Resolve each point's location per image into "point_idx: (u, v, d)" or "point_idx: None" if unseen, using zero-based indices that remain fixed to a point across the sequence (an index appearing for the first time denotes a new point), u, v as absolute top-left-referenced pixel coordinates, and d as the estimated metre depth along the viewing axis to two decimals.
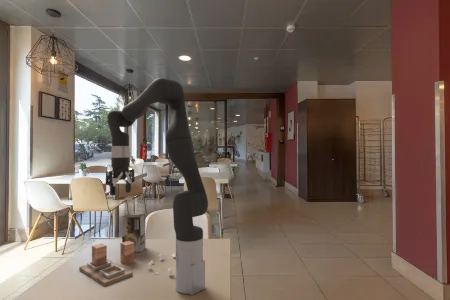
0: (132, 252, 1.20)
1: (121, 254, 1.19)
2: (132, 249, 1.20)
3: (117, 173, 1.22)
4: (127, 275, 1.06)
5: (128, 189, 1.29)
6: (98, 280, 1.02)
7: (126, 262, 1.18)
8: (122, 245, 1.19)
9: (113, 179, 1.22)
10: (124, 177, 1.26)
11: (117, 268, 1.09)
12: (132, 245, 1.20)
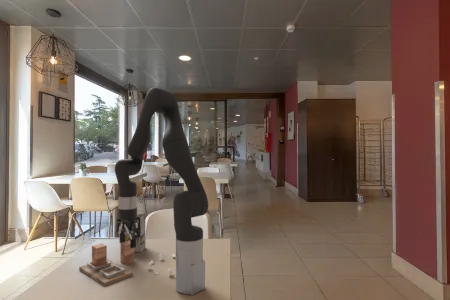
0: (132, 252, 1.20)
1: (121, 254, 1.19)
2: (132, 249, 1.20)
3: None
4: (127, 275, 1.06)
5: (123, 239, 1.23)
6: (98, 280, 1.02)
7: (126, 262, 1.18)
8: (122, 245, 1.19)
9: (132, 231, 1.18)
10: None
11: (117, 268, 1.09)
12: None
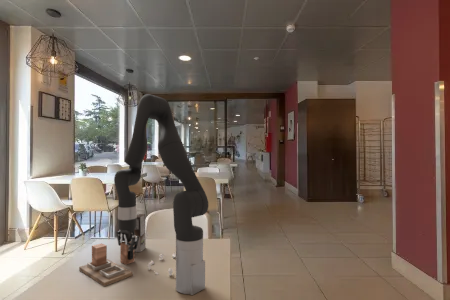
0: None
1: (121, 254, 1.19)
2: None
3: None
4: (127, 275, 1.06)
5: None
6: (98, 280, 1.02)
7: (126, 262, 1.18)
8: (122, 245, 1.19)
9: (130, 243, 1.18)
10: None
11: (117, 268, 1.09)
12: None
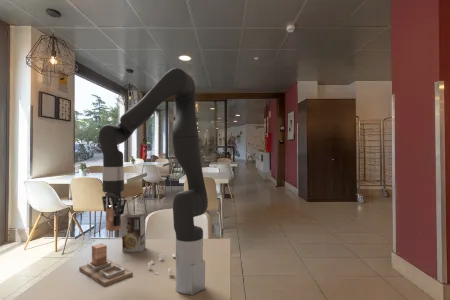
0: None
1: (106, 220, 1.07)
2: None
3: None
4: (127, 275, 1.06)
5: None
6: (98, 280, 1.02)
7: (112, 229, 1.05)
8: (107, 210, 1.06)
9: (116, 207, 1.05)
10: None
11: (117, 268, 1.09)
12: None
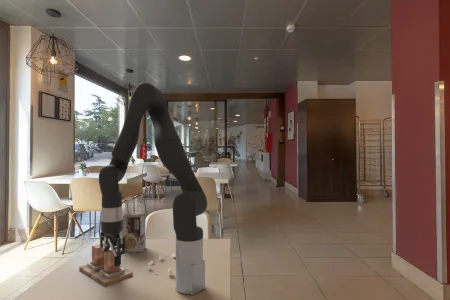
0: None
1: (105, 264, 1.06)
2: None
3: None
4: (127, 275, 1.06)
5: None
6: (98, 280, 1.02)
7: None
8: (106, 254, 1.05)
9: (116, 247, 1.04)
10: None
11: None
12: None
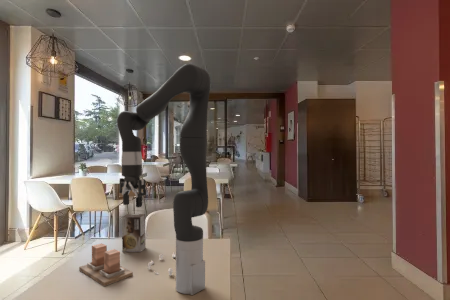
0: (117, 262, 1.06)
1: (105, 264, 1.06)
2: (117, 259, 1.06)
3: None
4: (127, 275, 1.06)
5: (127, 201, 1.14)
6: (98, 280, 1.02)
7: None
8: (106, 254, 1.05)
9: (137, 189, 1.08)
10: None
11: None
12: (117, 254, 1.06)
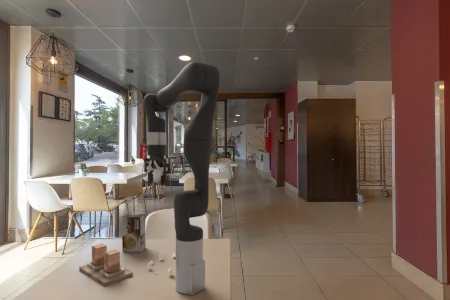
0: (117, 262, 1.06)
1: (105, 264, 1.06)
2: (117, 259, 1.06)
3: None
4: (127, 275, 1.06)
5: (152, 179, 1.20)
6: (98, 280, 1.02)
7: None
8: (106, 254, 1.05)
9: (162, 168, 1.14)
10: None
11: None
12: (117, 254, 1.06)
